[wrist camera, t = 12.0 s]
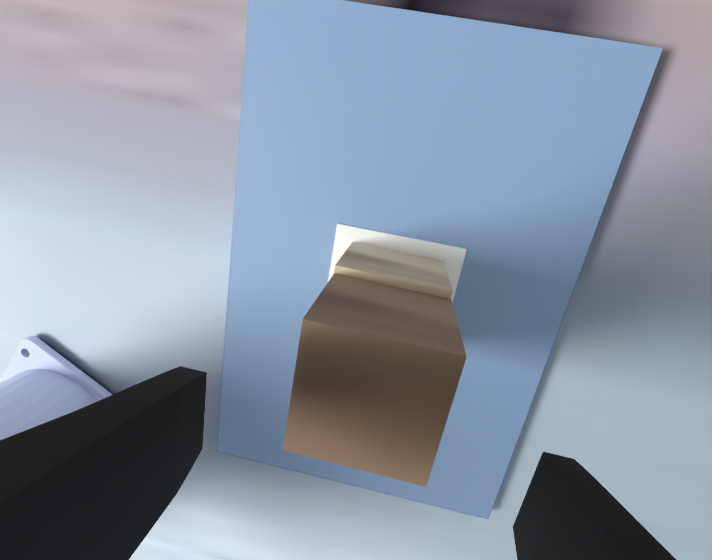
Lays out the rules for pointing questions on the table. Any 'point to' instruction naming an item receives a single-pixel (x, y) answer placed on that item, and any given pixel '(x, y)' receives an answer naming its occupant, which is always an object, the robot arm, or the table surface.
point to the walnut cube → (375, 378)
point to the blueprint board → (418, 205)
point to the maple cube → (395, 269)
